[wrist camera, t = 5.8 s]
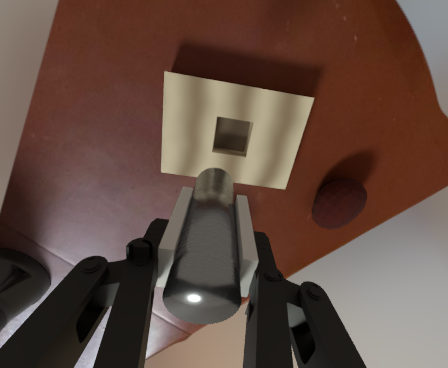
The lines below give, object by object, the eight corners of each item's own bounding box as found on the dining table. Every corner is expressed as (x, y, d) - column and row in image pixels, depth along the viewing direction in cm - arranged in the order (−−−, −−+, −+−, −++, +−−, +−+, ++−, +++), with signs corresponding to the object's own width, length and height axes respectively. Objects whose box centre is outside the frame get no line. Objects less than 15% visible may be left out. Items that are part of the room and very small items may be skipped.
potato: (362, 183, 38) (387, 200, 32) (325, 223, 42) (341, 244, 36) (332, 164, 36) (352, 179, 31) (296, 208, 40) (308, 227, 34)
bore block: (166, 164, 36) (161, 172, 33) (170, 72, 30) (164, 71, 27) (279, 180, 37) (285, 189, 34) (304, 96, 31) (314, 97, 28)
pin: (194, 198, 21) (162, 320, 10) (197, 165, 20) (162, 267, 9) (230, 202, 21) (234, 327, 10) (235, 170, 20) (248, 276, 9)
